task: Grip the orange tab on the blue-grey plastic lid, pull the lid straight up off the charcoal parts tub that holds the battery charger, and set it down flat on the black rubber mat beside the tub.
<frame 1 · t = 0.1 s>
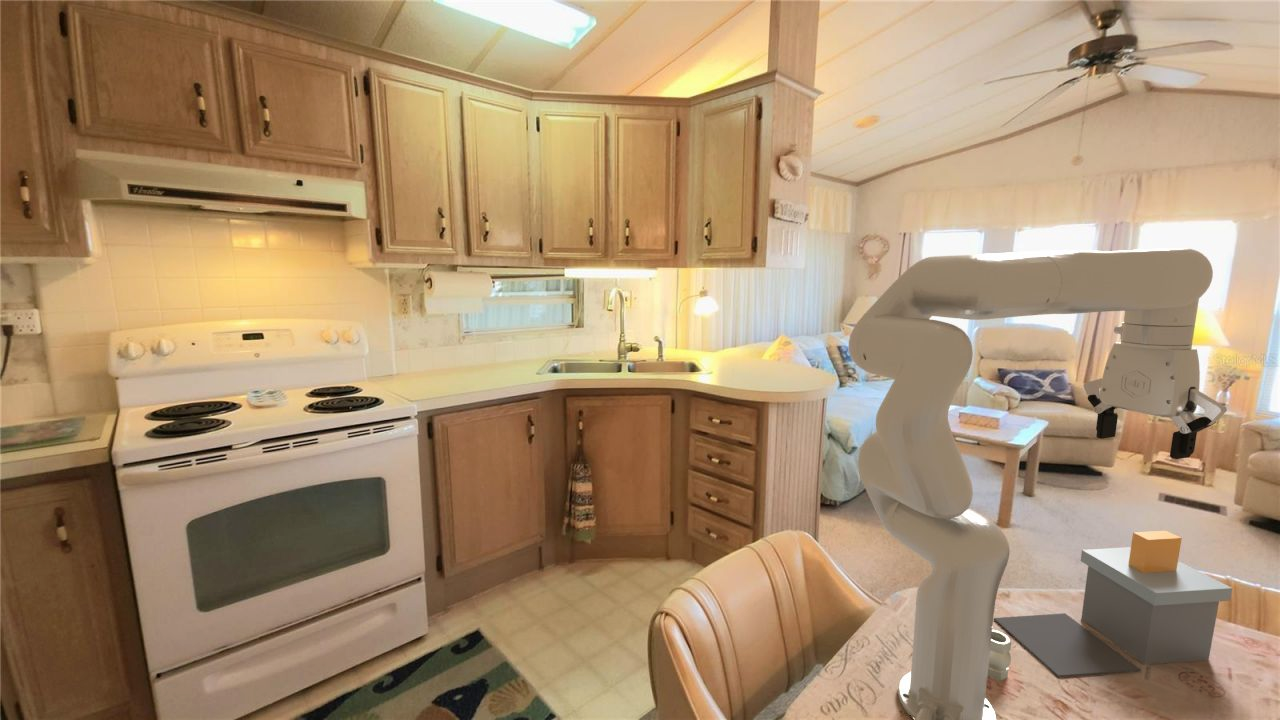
hand: (1140, 447, 80), 37 cm above the table, tool pointing down, fingers open, 9 cm apart
mat: (1061, 643, 90), on the table
lid: (1151, 573, 89), point 12 cm above the table, touching tub
tub: (1141, 638, 91), on the table
valve: (979, 656, 88), on the table
battery charger: (1141, 639, 91), resting in tub
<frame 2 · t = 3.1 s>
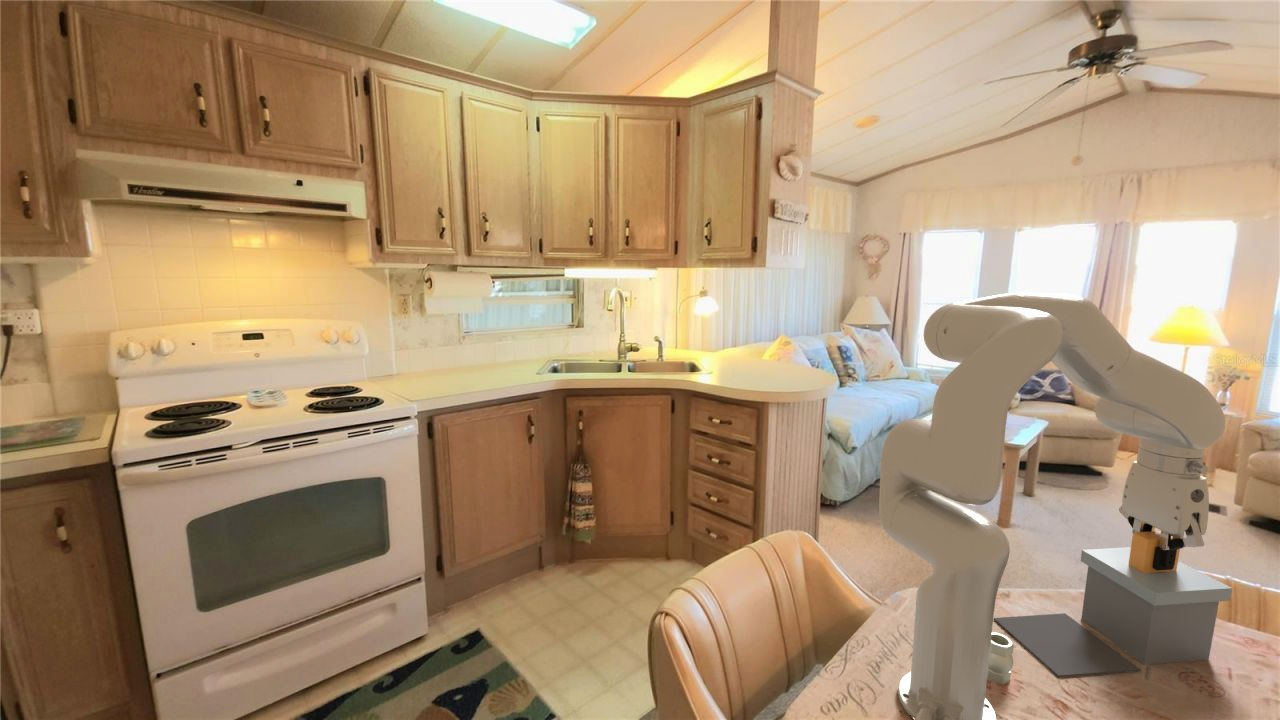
hand: (1152, 562, 89), 14 cm above the table, tool pointing down, fingers closed on lid, 2 cm apart
lid: (1151, 573, 89), point 13 cm above the table, touching gripper
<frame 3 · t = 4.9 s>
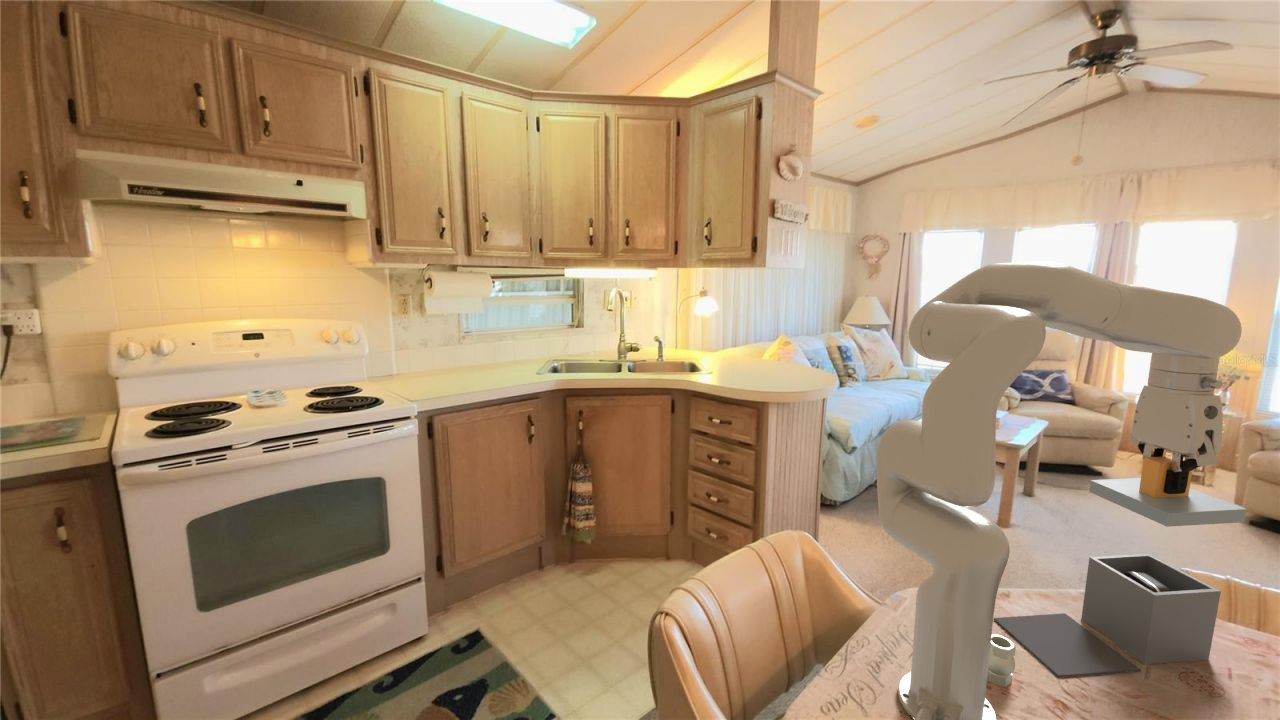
hand: (1163, 488, 86), 28 cm above the table, tool pointing down, fingers closed on lid, 2 cm apart
lid: (1162, 499, 87), point 26 cm above the table, touching gripper
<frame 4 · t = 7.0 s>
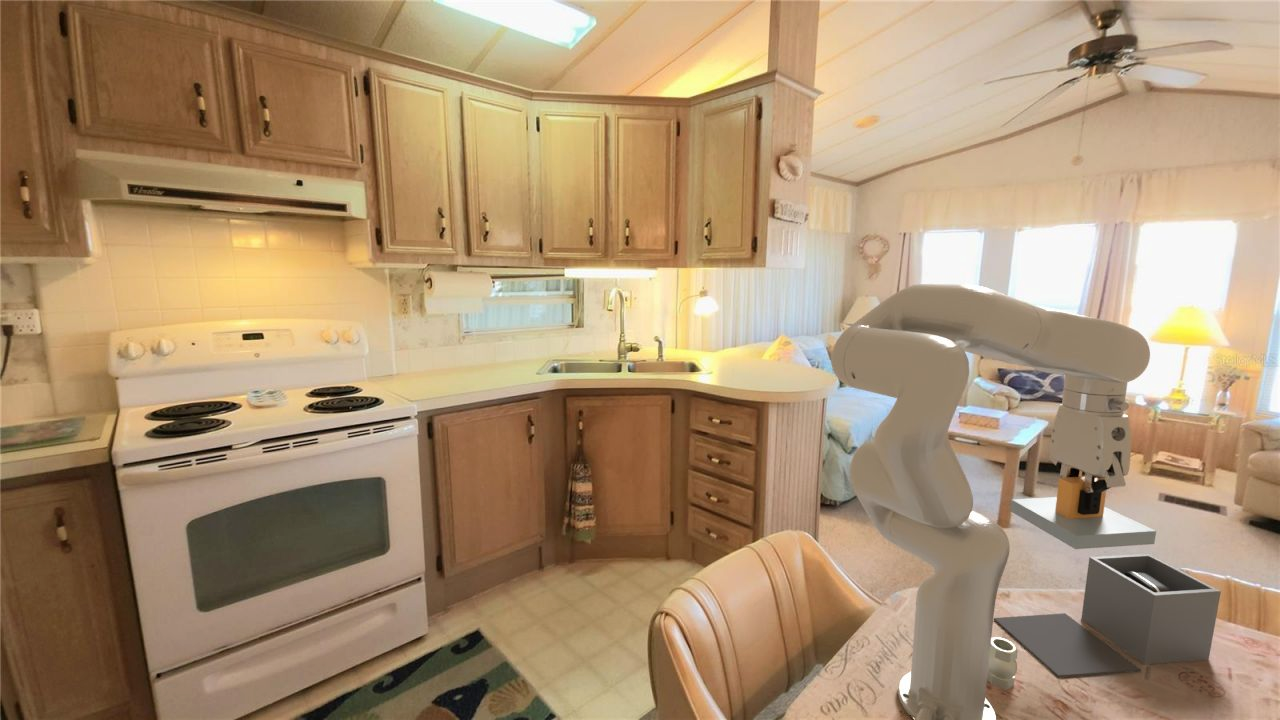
hand: (1079, 508, 86), 25 cm above the table, tool pointing down, fingers closed on lid, 2 cm apart
lid: (1078, 519, 86), point 23 cm above the table, touching gripper
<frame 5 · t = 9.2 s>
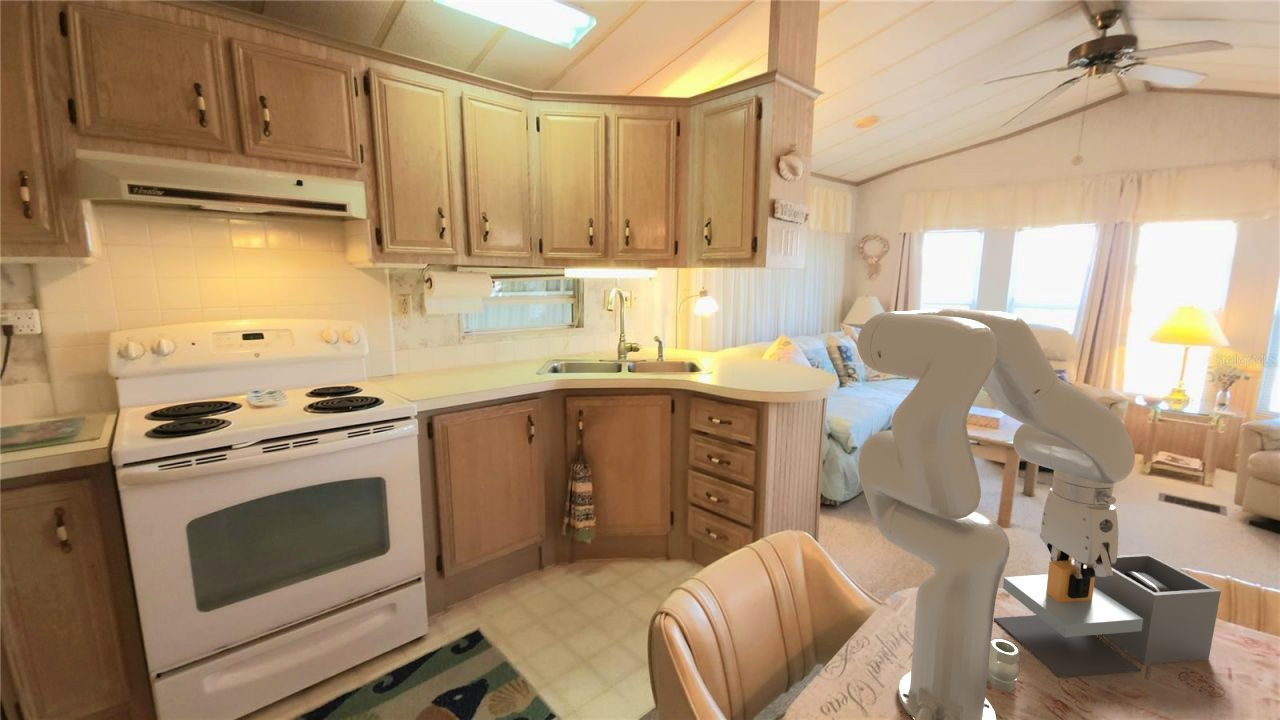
hand: (1069, 590, 89), 10 cm above the table, tool pointing down, fingers closed on lid, 2 cm apart
lid: (1068, 601, 89), point 8 cm above the table, touching gripper
when the fingers open (5 cm above the table, at t = 11.1 s): lid drops 1 cm, resting on mat.
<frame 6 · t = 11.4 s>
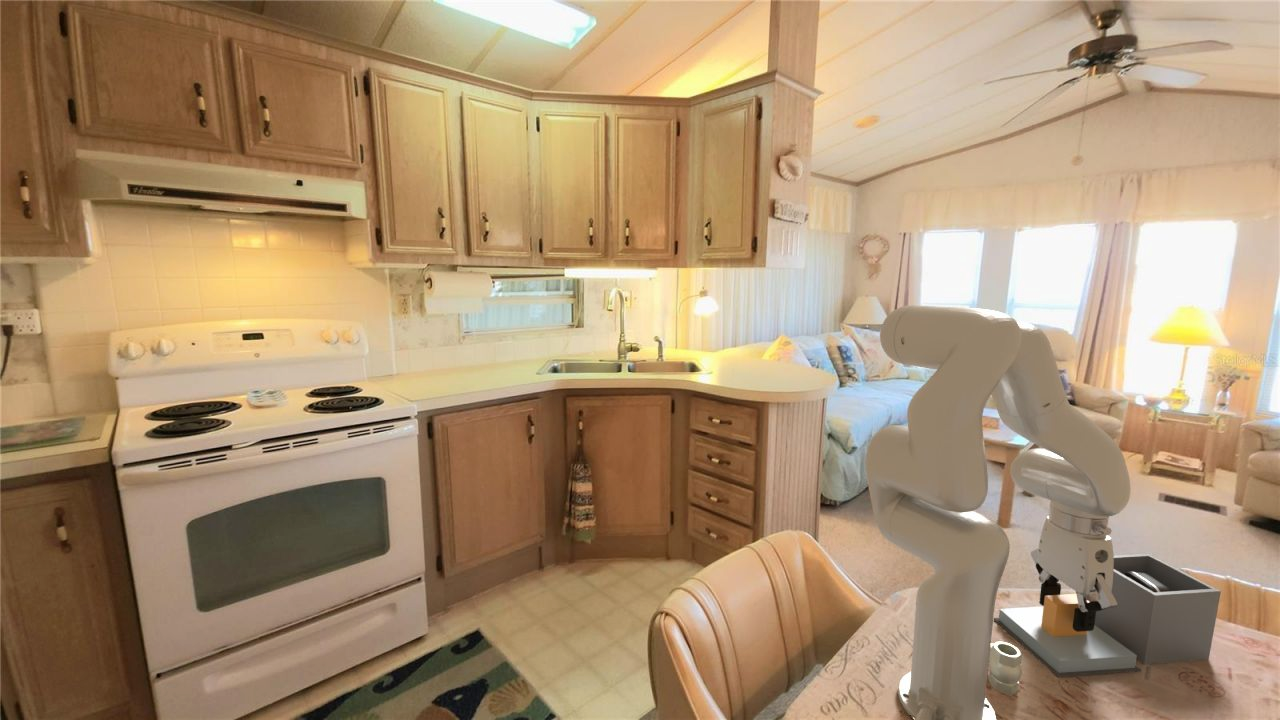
hand: (1065, 616, 89), 5 cm above the table, tool pointing down, fingers open, 6 cm apart
lid: (1063, 635, 90), point 2 cm above the table, touching mat
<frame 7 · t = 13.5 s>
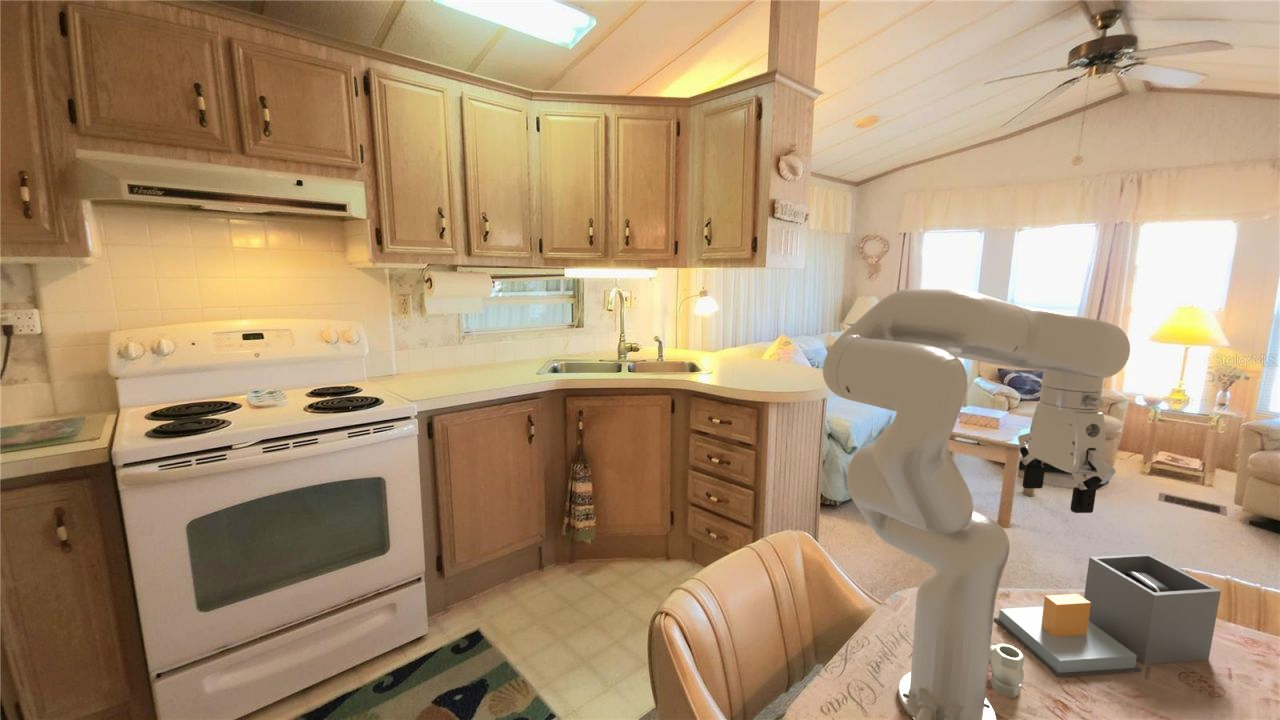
hand: (1055, 499, 86), 27 cm above the table, tool pointing down, fingers open, 9 cm apart
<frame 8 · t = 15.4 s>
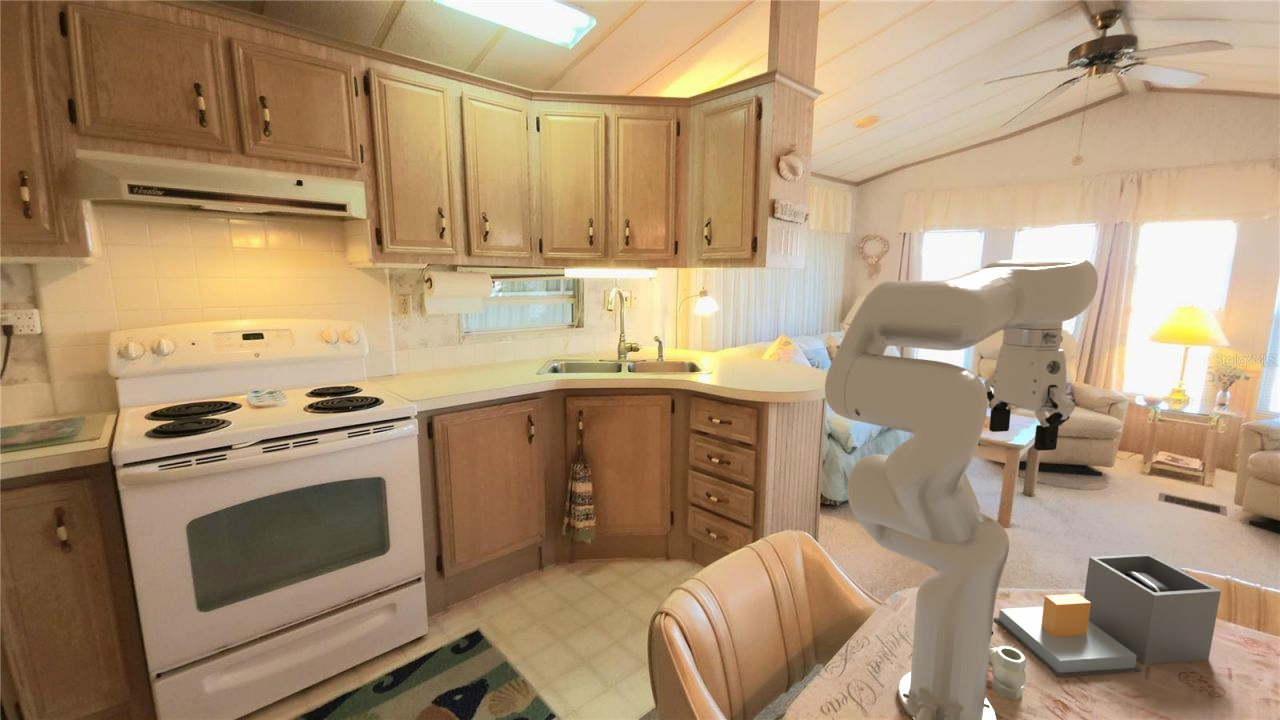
hand: (1020, 439, 87), 36 cm above the table, tool pointing down, fingers open, 9 cm apart
at the end: lid 0.1 cm off-centre on the mat, point 1.6 cm above the mat's base; lid tilted 0°; the gripper is holding nothing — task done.
